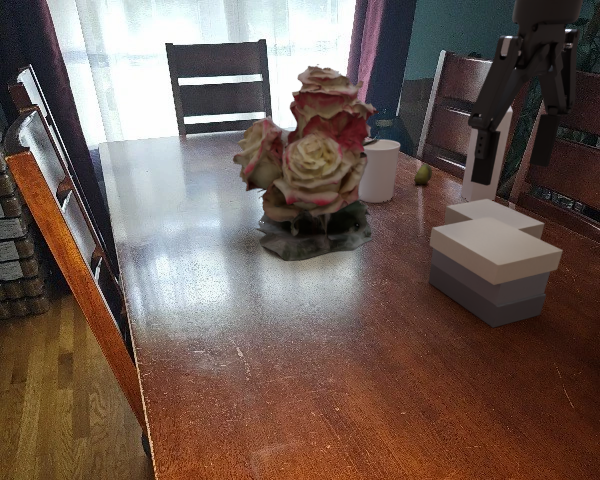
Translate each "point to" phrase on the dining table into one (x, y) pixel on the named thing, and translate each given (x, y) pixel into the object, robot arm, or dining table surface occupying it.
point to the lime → (423, 174)
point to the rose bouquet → (311, 168)
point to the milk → (480, 191)
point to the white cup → (379, 171)
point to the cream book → (495, 249)
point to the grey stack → (488, 292)
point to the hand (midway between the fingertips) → (510, 173)
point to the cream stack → (496, 211)
